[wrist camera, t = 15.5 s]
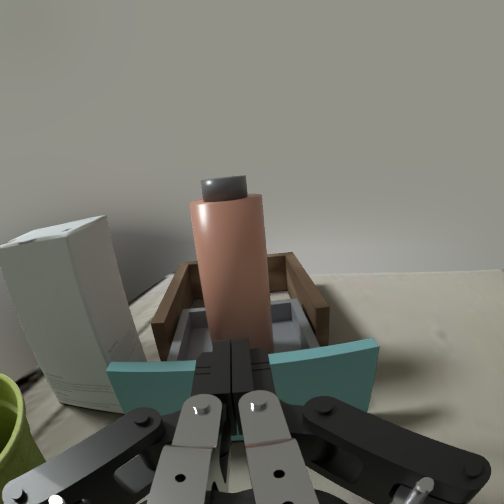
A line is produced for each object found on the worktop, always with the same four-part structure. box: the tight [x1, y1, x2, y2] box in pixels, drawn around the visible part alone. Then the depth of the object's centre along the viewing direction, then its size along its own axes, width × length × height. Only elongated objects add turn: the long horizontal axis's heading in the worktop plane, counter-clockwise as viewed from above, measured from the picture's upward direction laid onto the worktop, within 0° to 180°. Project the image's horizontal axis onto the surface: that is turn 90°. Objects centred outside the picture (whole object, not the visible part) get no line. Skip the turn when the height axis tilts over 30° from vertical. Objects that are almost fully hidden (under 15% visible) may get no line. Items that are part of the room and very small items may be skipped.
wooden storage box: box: [151, 252, 329, 362], centre depth 34 cm, size 15×17×5 cm
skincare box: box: [0, 215, 147, 414], centre depth 21 cm, size 8×6×15 cm
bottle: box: [190, 176, 274, 354], centre depth 23 cm, size 5×5×15 cm
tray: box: [106, 298, 379, 441], centre depth 24 cm, size 16×15×6 cm
